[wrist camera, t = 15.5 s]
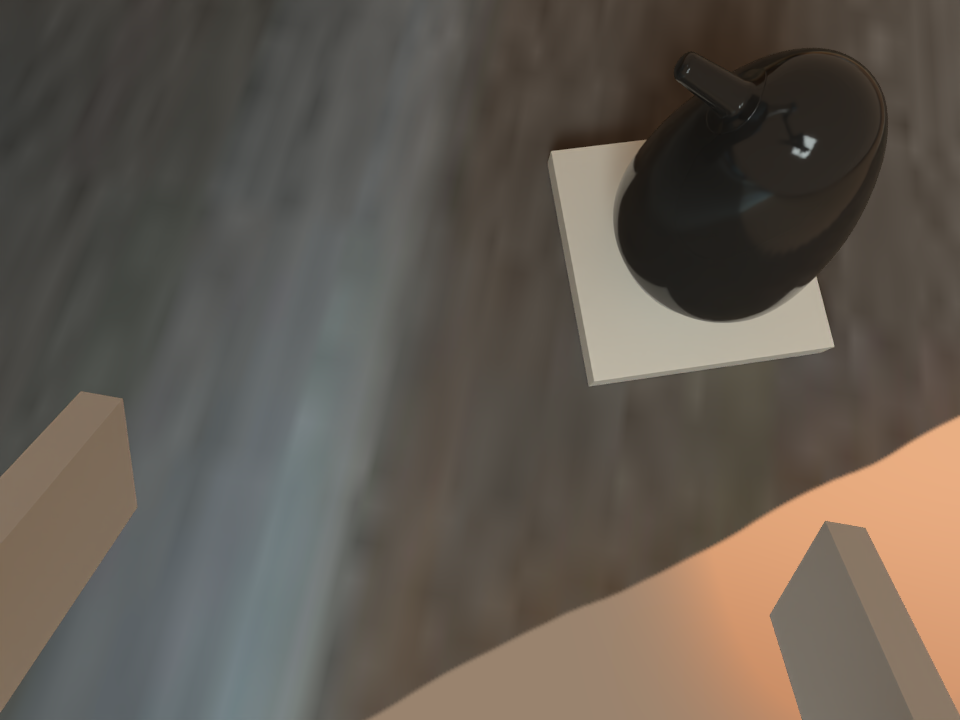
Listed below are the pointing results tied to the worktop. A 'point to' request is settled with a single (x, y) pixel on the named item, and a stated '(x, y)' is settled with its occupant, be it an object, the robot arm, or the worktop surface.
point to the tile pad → (634, 314)
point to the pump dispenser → (751, 182)
